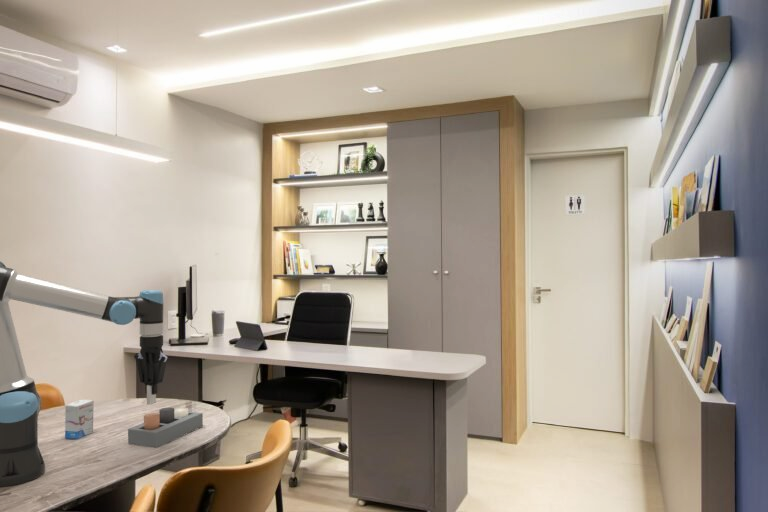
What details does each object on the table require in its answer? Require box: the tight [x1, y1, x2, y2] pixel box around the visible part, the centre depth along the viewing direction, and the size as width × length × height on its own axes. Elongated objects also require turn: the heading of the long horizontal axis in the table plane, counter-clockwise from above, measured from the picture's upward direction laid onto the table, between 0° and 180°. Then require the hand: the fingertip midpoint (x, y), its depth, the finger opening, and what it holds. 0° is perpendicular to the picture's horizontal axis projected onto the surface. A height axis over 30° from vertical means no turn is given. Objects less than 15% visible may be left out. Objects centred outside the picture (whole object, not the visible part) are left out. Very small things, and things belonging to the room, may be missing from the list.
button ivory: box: [174, 407, 189, 418], centre depth 209 cm, size 5×5×6 cm
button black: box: [158, 407, 175, 424], centre depth 202 cm, size 5×5×6 cm
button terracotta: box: [143, 412, 160, 430], centre depth 195 cm, size 5×5×6 cm
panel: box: [127, 411, 204, 448], centre depth 202 cm, size 24×12×5 cm, turn 160°
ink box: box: [64, 399, 95, 440], centre depth 202 cm, size 9×5×12 cm, turn 168°
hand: (151, 403), depth 195 cm, fingers closed
